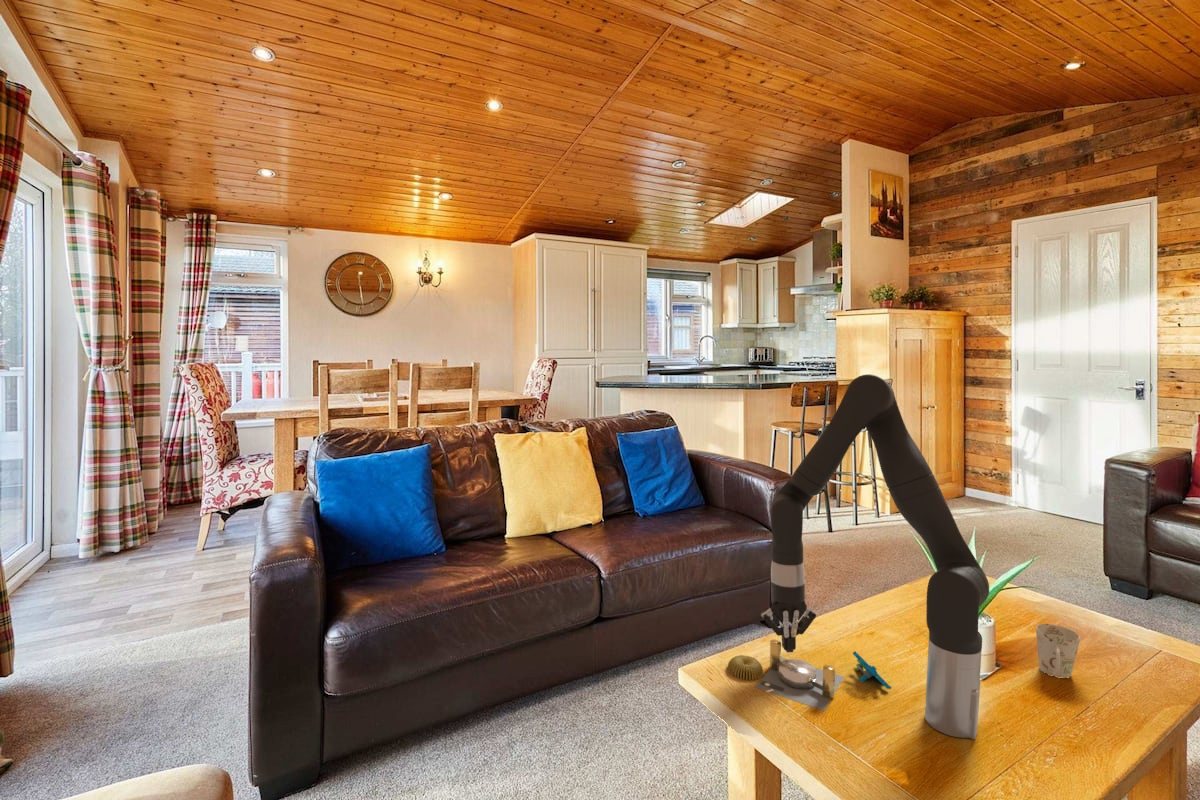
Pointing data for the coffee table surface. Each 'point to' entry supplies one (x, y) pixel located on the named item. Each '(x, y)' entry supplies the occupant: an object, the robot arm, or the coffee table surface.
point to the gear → (868, 670)
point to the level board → (797, 689)
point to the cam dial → (801, 672)
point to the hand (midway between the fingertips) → (788, 650)
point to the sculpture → (745, 667)
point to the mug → (1056, 649)
